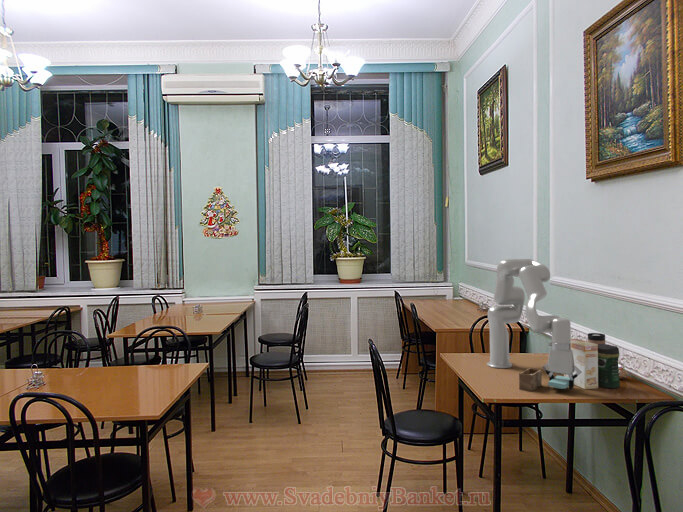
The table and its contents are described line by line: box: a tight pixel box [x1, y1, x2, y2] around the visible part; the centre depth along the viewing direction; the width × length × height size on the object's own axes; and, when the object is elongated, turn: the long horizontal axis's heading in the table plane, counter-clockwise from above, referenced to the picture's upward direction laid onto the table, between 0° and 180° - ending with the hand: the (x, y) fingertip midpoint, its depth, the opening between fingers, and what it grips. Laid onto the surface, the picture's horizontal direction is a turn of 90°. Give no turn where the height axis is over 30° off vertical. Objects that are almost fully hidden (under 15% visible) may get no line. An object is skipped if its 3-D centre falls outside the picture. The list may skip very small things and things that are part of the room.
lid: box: [547, 375, 570, 390], centre depth 216 cm, size 13×7×3 cm, turn 140°
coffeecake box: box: [563, 338, 599, 390], centre depth 224 cm, size 15×7×20 cm, turn 10°
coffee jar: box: [598, 343, 621, 389], centre depth 221 cm, size 10×8×19 cm
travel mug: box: [587, 332, 606, 344], centre depth 238 cm, size 8×8×20 cm
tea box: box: [518, 367, 543, 392], centre depth 221 cm, size 12×6×7 cm, turn 140°
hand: (561, 386), depth 216 cm, fingers closed on lid, 7 cm apart
